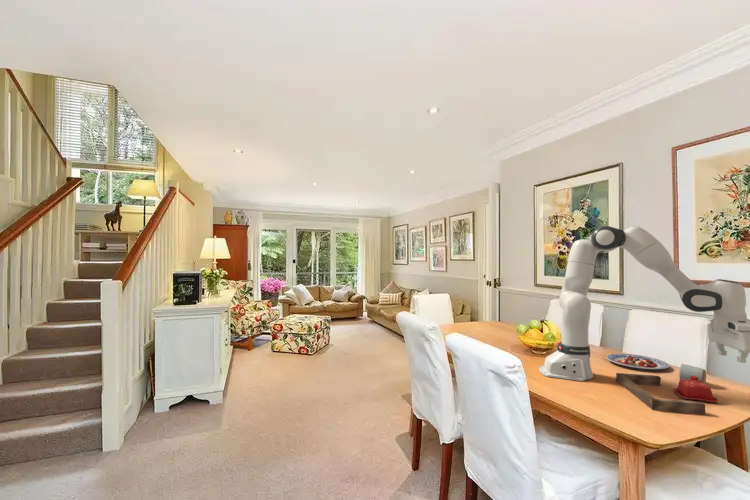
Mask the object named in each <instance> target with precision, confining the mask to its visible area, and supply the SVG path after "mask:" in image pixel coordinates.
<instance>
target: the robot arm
mask: <svg viewBox="0 0 750 500" xmlns="http://www.w3.org/2000/svg"><path fill="white" fill-rule="evenodd" d="M617 248H621V249H624V250H626V251H627V253H629V254H630V255H631V256H632V257H633V258H634V259H635V260H636V261H637V262H638V263H640V264H641V265H642V266H644V267H645V268H646V269H648V270H651V271H653V272H655V273H657V274H659V276H660V275H661V276H662V277H663V278H664V279H665V280H666V282H668V283H669V284H670V285H671V286H672V287H673V288H674V289H675V290H676V291H677V292H678V294H679V297H680V300H681V302H682V303H683V306H685V307H686V309H688V310H689V311H692V312H695V313H704V312H713V318H712V319H711V320H710V322H709V324H708V328H707V338H708V340H709V341H711V342H714V343H715V346H716V348H717V349H718V355H720V356H722V357H723V356H727V353H728V352H727V350H726V349H725V347H727V348H731V349H734V350H736V351H737V350H738V353H739V355H738V356H736V359H737V360H736V361H737V362H738V363H742V364H744V363H747V358H748V356H749V354H750V319H749V318H748V315H747V312H746V306H747V297H746V291H745V288H744V286H743V284H742V283H740V282H738V281H735V280H728V279H721V278H720V279H715V280H713V281H711V282H708V283H706V284H704V285H703V284H702V285H700V284H697V283H695V282H694V281H692V280H691V279H690V278H689V277H688V276H687V275H686V274H685V273H684V272H683V271H681V270H680V268H679V267H678V266H677V265H676V264H675V262H674V260H673V257H672V256H671V254H670V251H668V250H667V248H666V247H665V246H664V245H663V243H661V241H659V240H658V239H657V238H656V237H655V236H654V235H653V234H651V233H650V232H648V230H646V229H644V228H642V227H641V226H639V225H638V226H630V227H628V228H626V229H624V230H623V229H619V228H616V227H613V226H609V225H603V226H600V227H598V228H596V229H594V231H593V232H592V234H591V236H590V238H587V239H585V238H582V239H578V240H574V242H573V243H572V245H571V247H570V250H569V254H568V258H567V263H566V271H565V275H564V279H563V282H562V287H561V291H560V294H559V299H558V303H559V306H560V307H561V309H562V320H561V326H560V327H561V328H560V329H561V341H560V342H559V343H558V342H554V344H553V345H554V346H555V348H556V349H557V350H556V351H554V352H553V353H551V354H549V355H548V356H546V357H545V359H544V365H541V366H539V368H538V369H539V371H538V372H539V373H540V374H541V375H543V376H545V377H547V378H554V379H555V378H556V379H563V380H569V381H570V380H571V381H578V382H585V381H588V380H591V379H593V378H594V375H593V371H592V367H591V362H590V358H591V347H590V345H589V325H590V321H591V320H590V317H591V309H592V304H591V301H590V299H589V298H588V296H587V295H588V291H589V289H590V286H591V284H592V281H593V278H594V277H593V276H594V270H595V265H596V259H597V256H598V254H599V253H605V252H606V253H607V252H612V251H615V250H616V249H617Z"/></svg>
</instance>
